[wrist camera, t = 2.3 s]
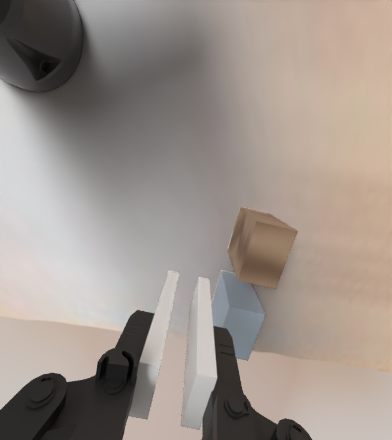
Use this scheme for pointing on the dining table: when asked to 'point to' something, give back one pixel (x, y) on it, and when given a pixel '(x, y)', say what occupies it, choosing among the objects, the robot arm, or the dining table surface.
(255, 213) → the walnut block
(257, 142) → the dining table surface
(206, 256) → the dining table surface
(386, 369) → the dining table surface
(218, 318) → the slate block
